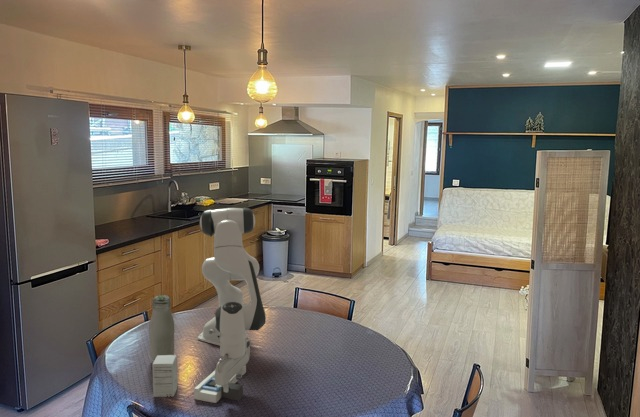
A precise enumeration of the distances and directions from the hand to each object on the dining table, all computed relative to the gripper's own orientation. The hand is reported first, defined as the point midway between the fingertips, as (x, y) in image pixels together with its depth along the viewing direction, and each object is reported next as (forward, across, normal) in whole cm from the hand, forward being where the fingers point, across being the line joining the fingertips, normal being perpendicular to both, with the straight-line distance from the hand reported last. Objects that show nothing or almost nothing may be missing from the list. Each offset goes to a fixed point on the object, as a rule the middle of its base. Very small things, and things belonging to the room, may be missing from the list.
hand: (232, 384), depth 173 cm
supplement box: (+4, -6, +24) cm, 25 cm away
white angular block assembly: (+4, +5, +7) cm, 10 cm away
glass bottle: (+5, +16, +40) cm, 43 cm away
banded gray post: (+4, -1, +3) cm, 5 cm away
